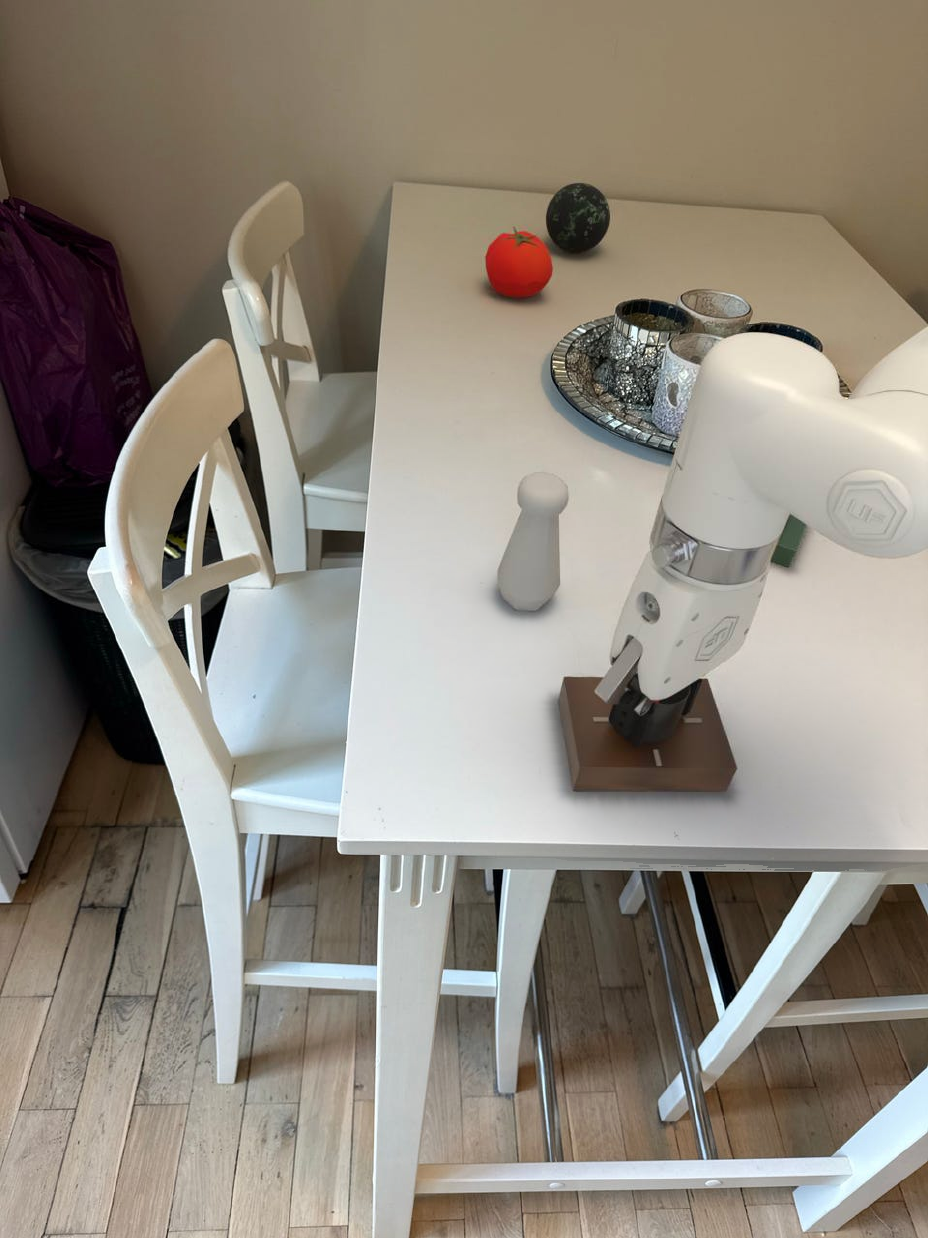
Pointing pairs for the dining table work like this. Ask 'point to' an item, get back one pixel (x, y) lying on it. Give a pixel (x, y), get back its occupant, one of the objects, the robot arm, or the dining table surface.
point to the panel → (643, 746)
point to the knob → (664, 714)
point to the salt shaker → (534, 543)
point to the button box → (788, 541)
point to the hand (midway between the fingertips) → (649, 716)
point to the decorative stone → (577, 217)
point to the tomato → (518, 264)
